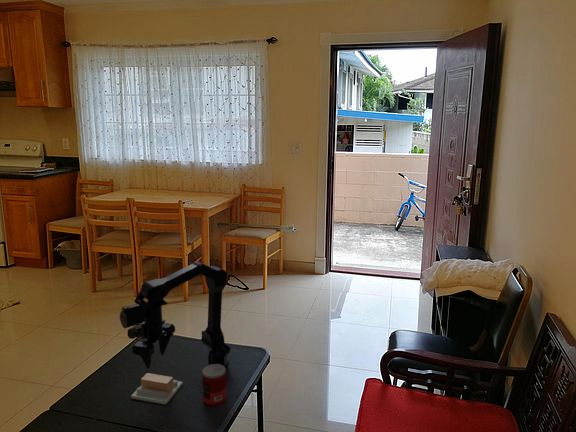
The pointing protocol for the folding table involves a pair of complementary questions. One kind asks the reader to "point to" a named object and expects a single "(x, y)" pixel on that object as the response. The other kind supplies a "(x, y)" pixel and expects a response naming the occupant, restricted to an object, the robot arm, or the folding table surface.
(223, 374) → the canned food
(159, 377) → the chute block
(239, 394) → the folding table surface
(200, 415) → the folding table surface
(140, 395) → the deck plate
